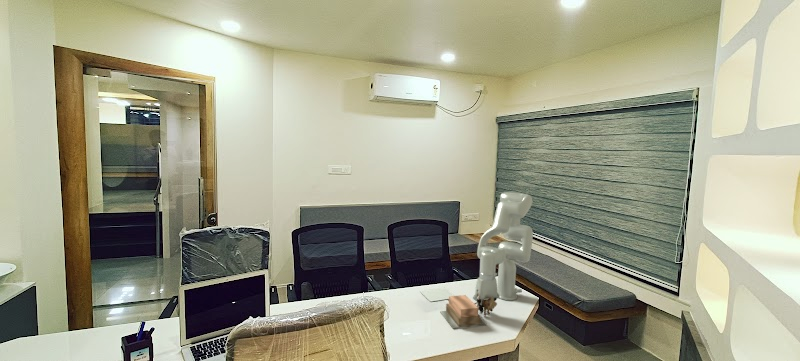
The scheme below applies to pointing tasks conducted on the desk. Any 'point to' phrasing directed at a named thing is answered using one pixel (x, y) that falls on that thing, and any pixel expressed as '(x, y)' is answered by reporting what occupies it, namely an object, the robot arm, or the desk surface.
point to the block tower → (462, 313)
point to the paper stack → (437, 294)
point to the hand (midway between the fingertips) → (485, 310)
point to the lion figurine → (487, 305)
